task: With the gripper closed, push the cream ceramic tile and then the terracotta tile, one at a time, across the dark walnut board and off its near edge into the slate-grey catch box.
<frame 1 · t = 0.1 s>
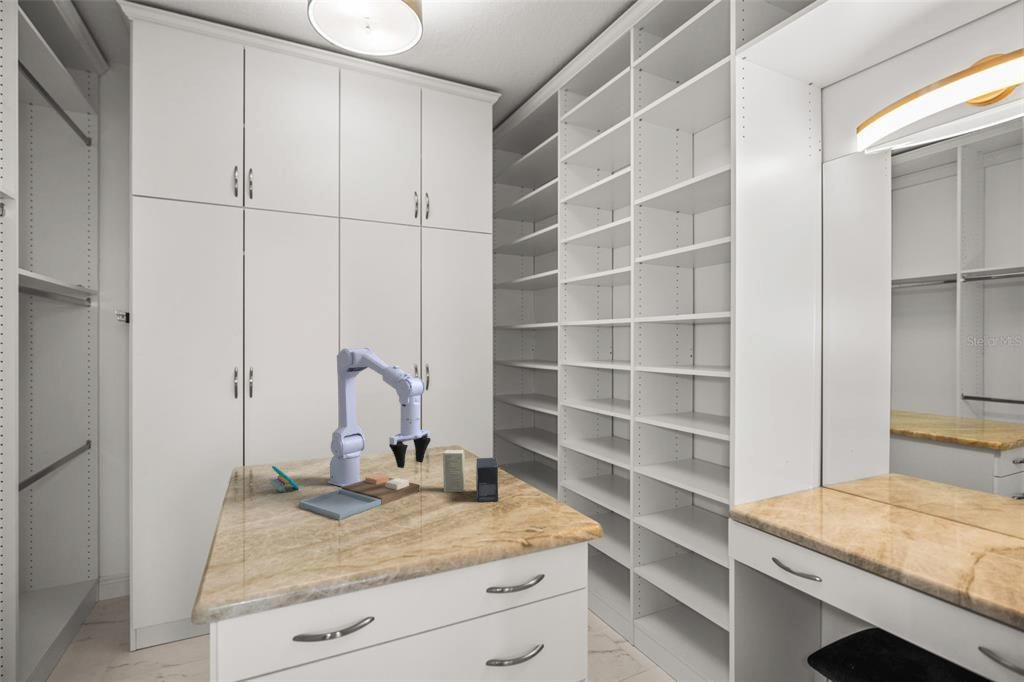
hand: (410, 464, 149), 10 cm above the worktop, tool pointing down, fingers open, 7 cm apart
skincare box: (454, 490, 157), on the worktop
catch box: (340, 505, 142), on the worktop
cream tile: (397, 486, 154), point 2 cm above the worktop, touching walnut board
terracotta tile: (377, 481, 159), point 2 cm above the worktop, touching walnut board
small box: (487, 497, 151), on the worktop
ornament: (284, 491, 156), on the worktop
walnut board: (380, 492, 154), on the worktop
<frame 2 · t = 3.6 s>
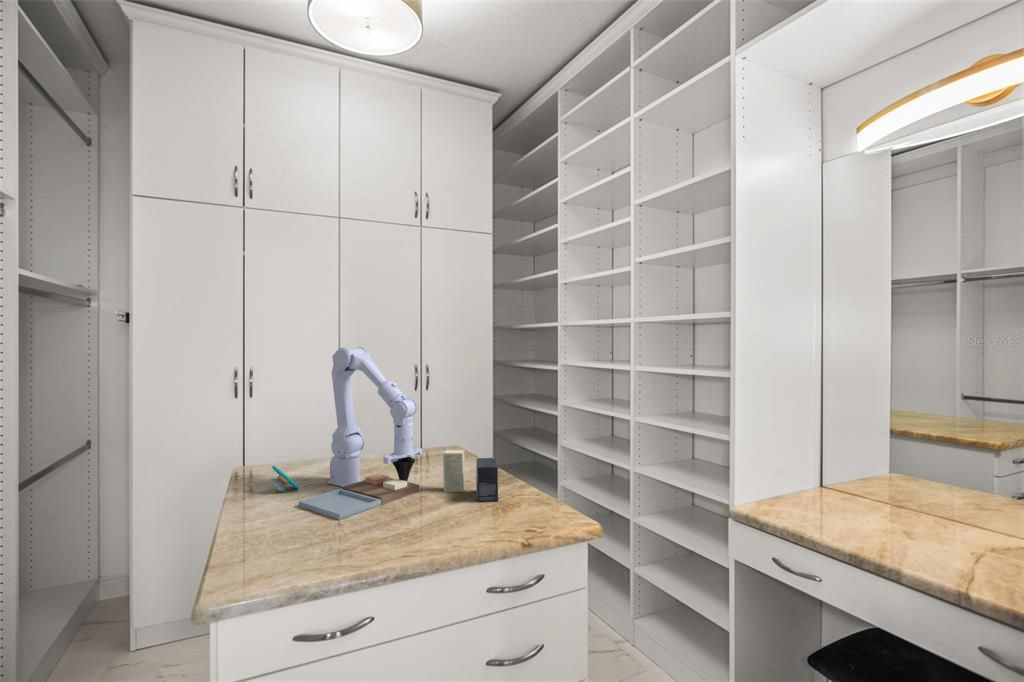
hand: (403, 482, 156), 3 cm above the worktop, tool pointing down, fingers closed
cream tile: (395, 486, 153), point 2 cm above the worktop
everything else where it was.
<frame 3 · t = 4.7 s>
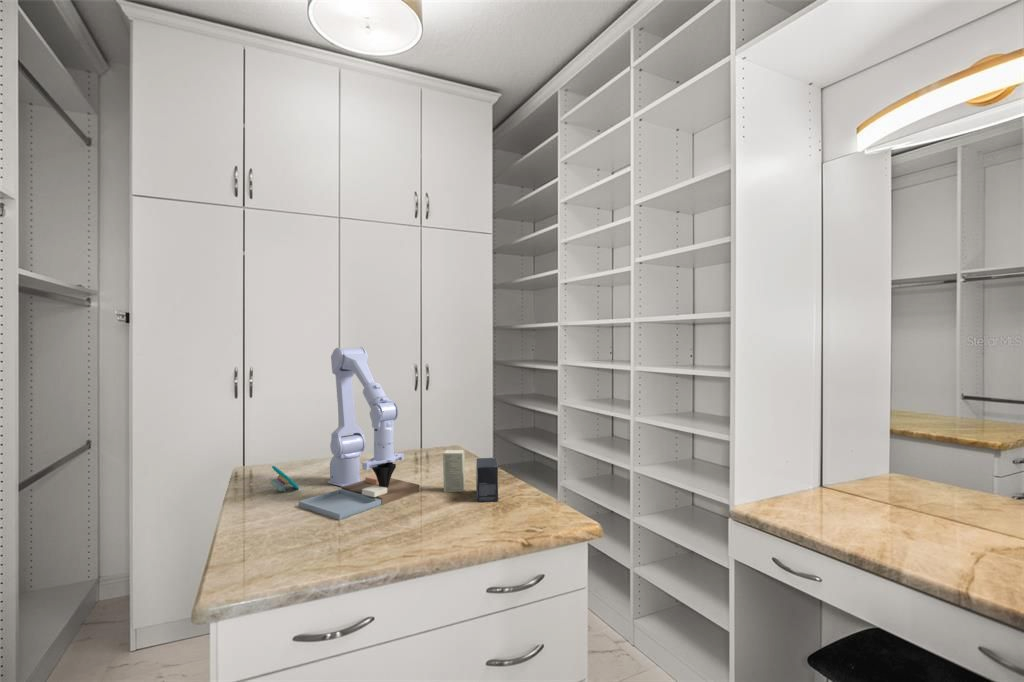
hand: (383, 488, 149), 3 cm above the worktop, tool pointing down, fingers closed
cream tile: (374, 493, 146), point 2 cm above the worktop
everything else where it was.
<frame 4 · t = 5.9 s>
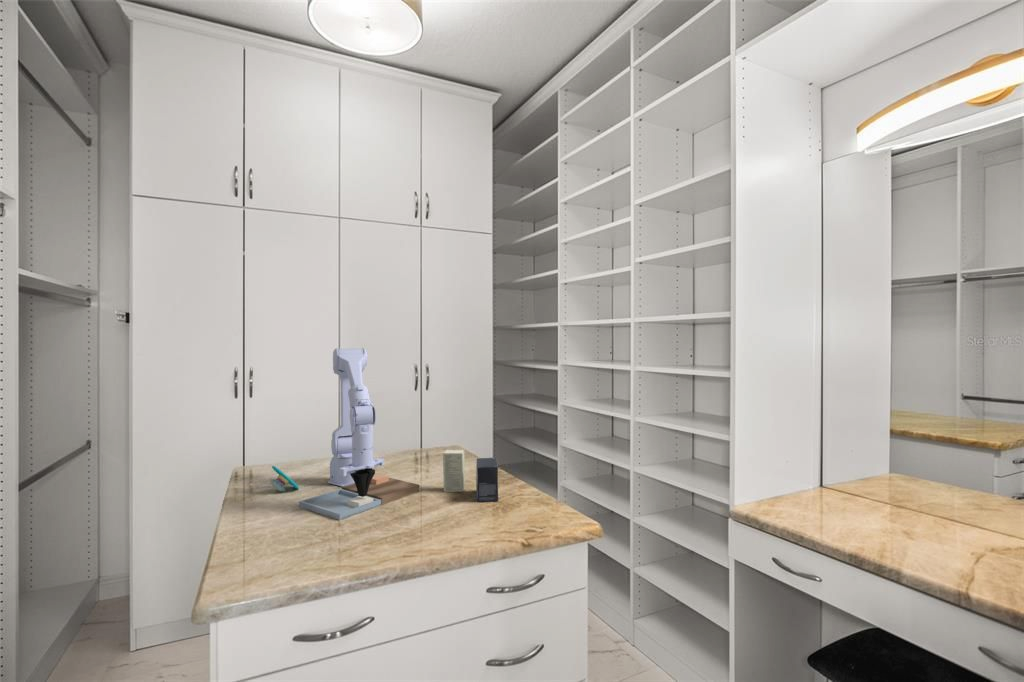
hand: (362, 495, 143), 3 cm above the worktop, tool pointing down, fingers closed
cream tile: (360, 504, 142), resting on catch box
everything else where it was.
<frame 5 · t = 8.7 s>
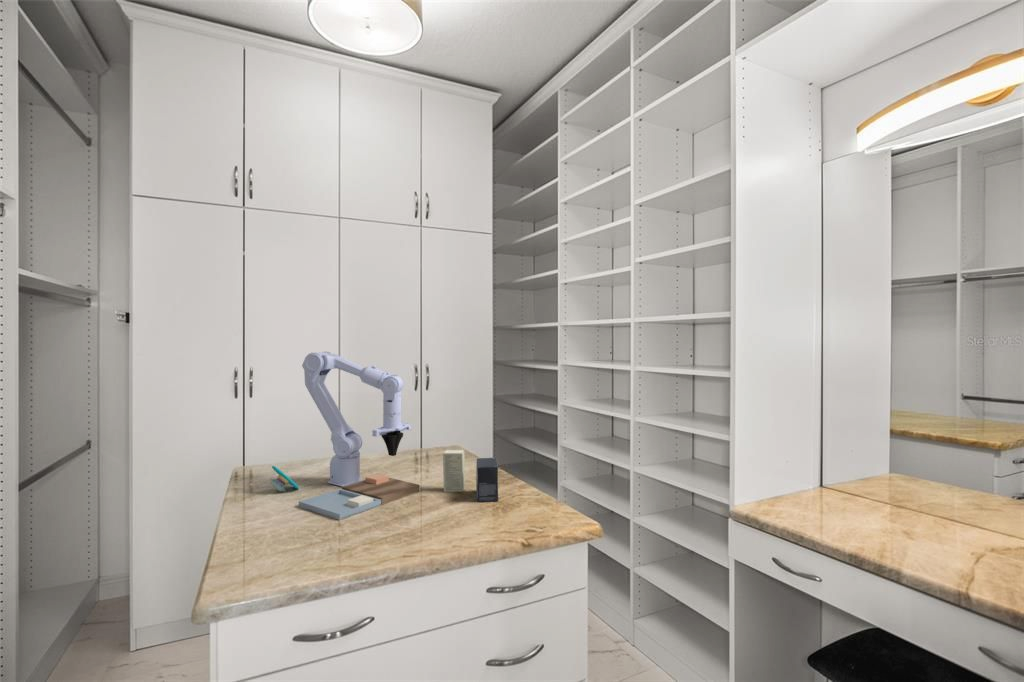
hand: (392, 455, 162), 9 cm above the worktop, tool pointing down, fingers closed
nothing on the worktop moved.
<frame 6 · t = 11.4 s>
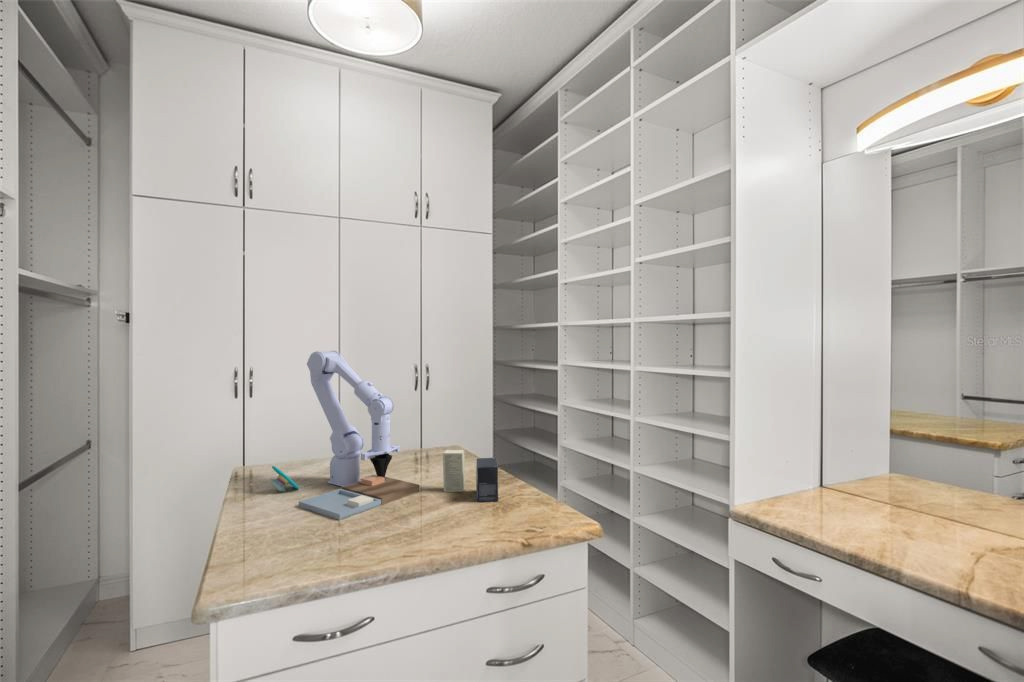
hand: (380, 478, 160), 3 cm above the worktop, tool pointing down, fingers closed
terracotta tile: (372, 482, 157), point 2 cm above the worktop, touching gripper
everything else where it was.
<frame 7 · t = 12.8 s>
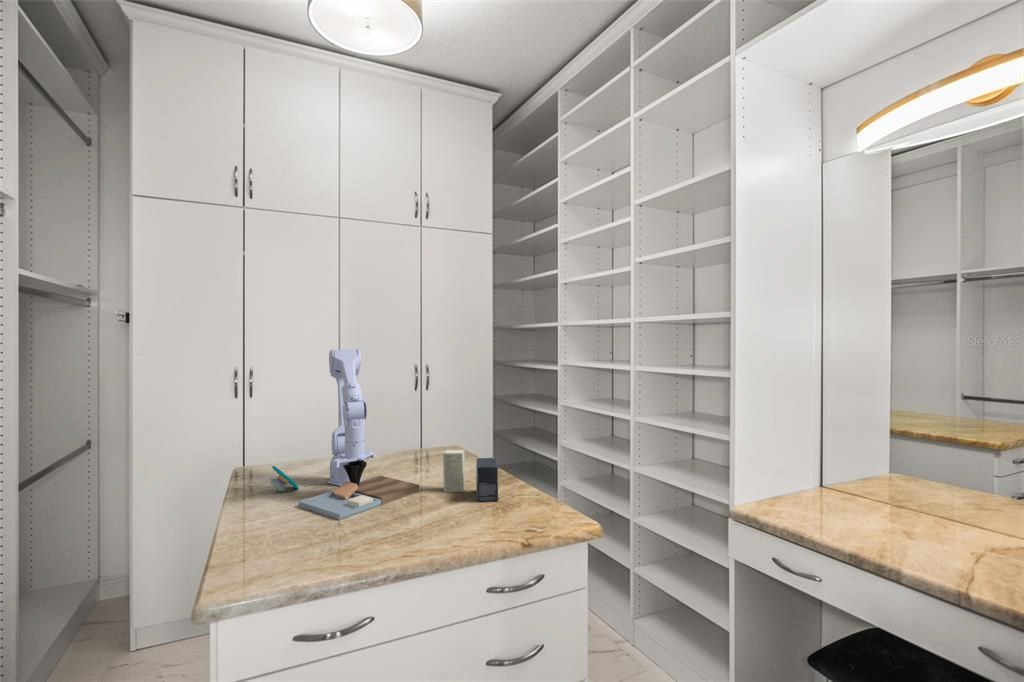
hand: (354, 486, 152), 3 cm above the worktop, tool pointing down, fingers closed
terracotta tile: (347, 492, 149), point 2 cm above the worktop, tilted 30°, touching catch box, gripper
everything else where it was.
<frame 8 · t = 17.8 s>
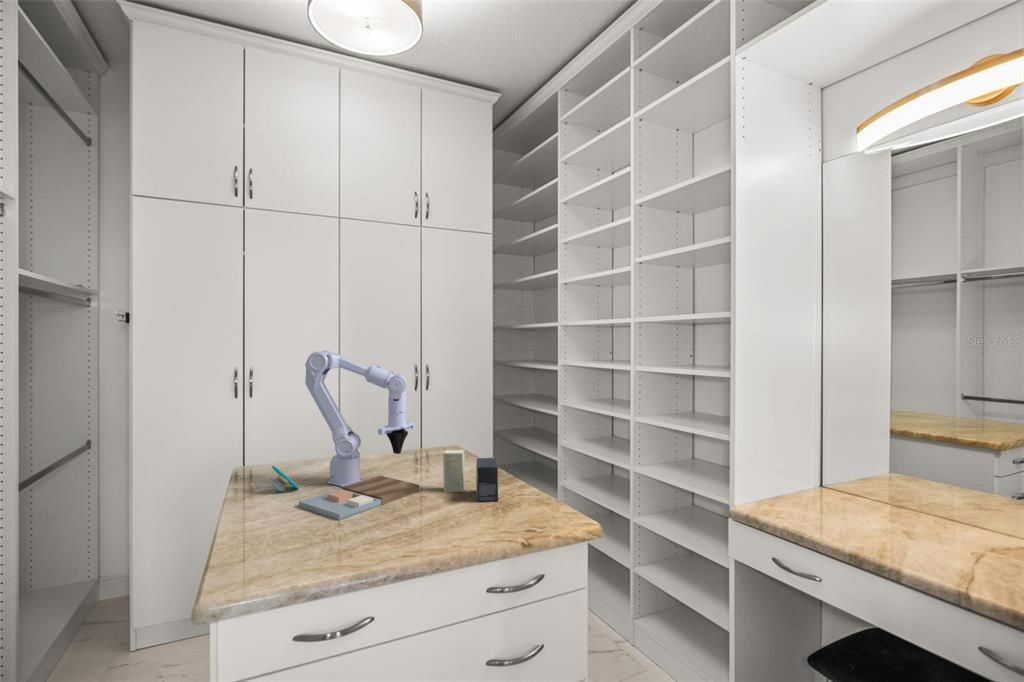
hand: (397, 453, 165), 9 cm above the worktop, tool pointing down, fingers closed
terracotta tile: (340, 498, 147), resting on catch box
everything else where it was.
at the end: cream tile inside the target area (5.5 cm from its centre), resting on catch box; terracotta tile inside the target area (5.3 cm from its centre), resting on catch box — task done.
